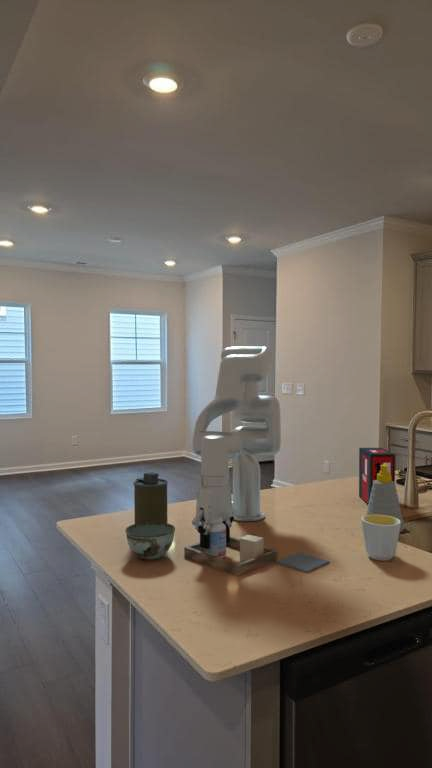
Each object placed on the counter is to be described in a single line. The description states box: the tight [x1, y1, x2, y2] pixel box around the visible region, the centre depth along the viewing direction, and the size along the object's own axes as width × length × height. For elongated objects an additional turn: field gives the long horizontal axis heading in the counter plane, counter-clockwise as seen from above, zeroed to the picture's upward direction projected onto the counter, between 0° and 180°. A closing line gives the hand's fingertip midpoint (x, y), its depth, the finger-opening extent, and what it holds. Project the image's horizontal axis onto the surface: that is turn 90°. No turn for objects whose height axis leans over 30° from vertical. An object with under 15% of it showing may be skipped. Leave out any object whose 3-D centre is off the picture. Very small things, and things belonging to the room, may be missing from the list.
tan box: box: [239, 534, 265, 562], centre depth 143 cm, size 5×4×6 cm
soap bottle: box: [366, 463, 405, 533], centre depth 172 cm, size 12×12×20 cm
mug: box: [361, 514, 401, 562], centre depth 147 cm, size 14×10×10 cm
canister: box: [132, 471, 169, 524], centre depth 162 cm, size 11×10×20 cm
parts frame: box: [183, 535, 279, 577], centre depth 145 cm, size 20×16×2 cm
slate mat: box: [275, 551, 330, 574], centre depth 141 cm, size 10×10×1 cm
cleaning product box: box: [358, 447, 396, 506], centre depth 204 cm, size 16×9×20 cm, turn 179°
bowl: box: [124, 522, 176, 562], centre depth 146 cm, size 14×13×8 cm
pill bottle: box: [204, 517, 227, 559], centre depth 146 cm, size 6×6×11 cm
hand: (215, 544), depth 146 cm, fingers open, 7 cm apart
